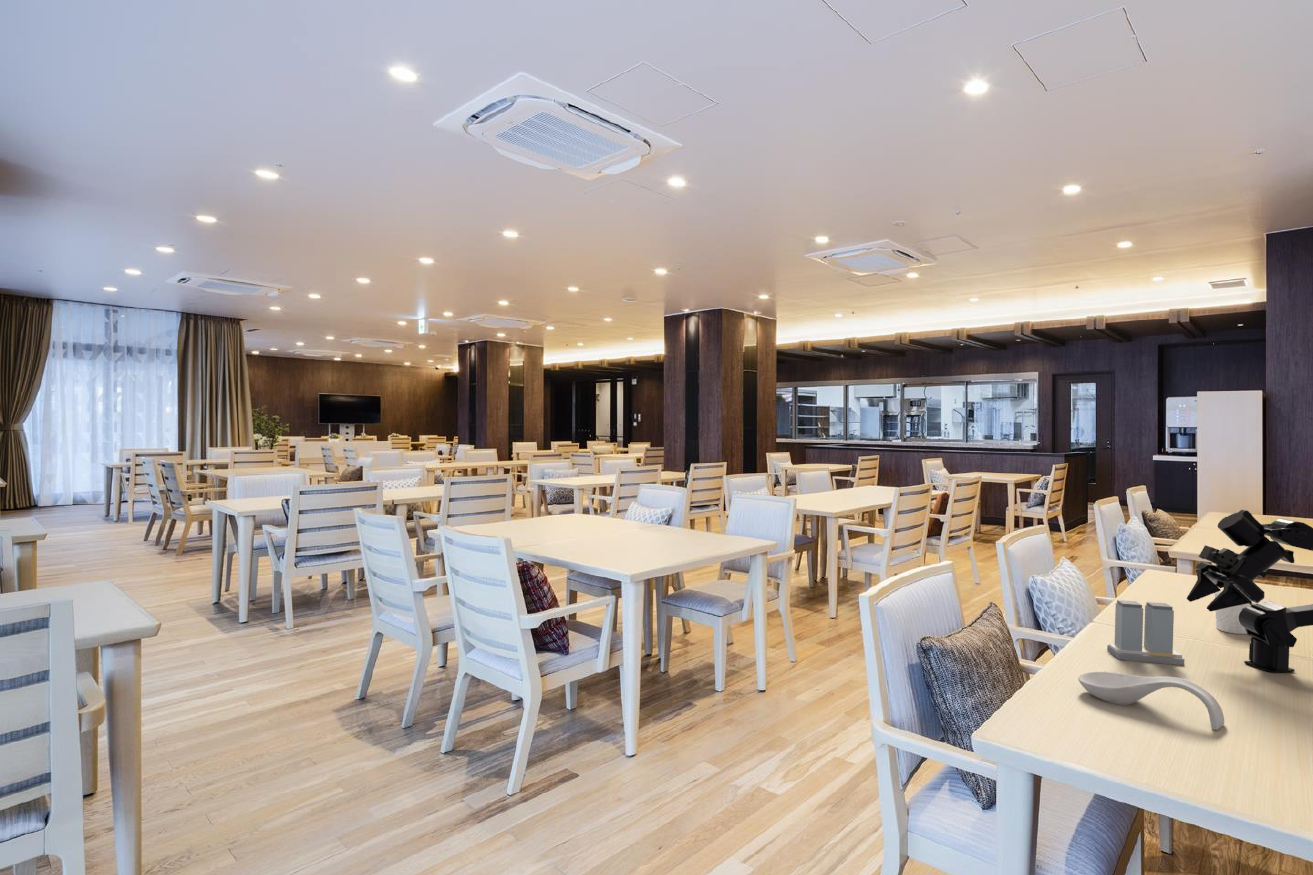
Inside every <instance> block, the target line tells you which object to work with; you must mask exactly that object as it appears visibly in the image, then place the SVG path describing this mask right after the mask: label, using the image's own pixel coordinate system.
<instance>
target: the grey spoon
mask: <svg viewBox="0 0 1313 875" xmlns="http://www.w3.org/2000/svg"><path fill="white" fill-rule="evenodd" d="M1077 680H1078V682H1079V684H1080V685H1081V686H1082V688H1084V690H1085V691H1087V692H1088V693H1089V694H1091V695H1092V696H1094V697H1096V698H1098V699H1100V700H1101V701H1104V702H1107V703H1111V704H1114V705H1115V704H1116V705H1123V706H1124V705H1126V706H1127V705H1132V704H1134V703H1136V702H1137V701H1140V700H1142V699H1144V698H1145V697H1146V696H1148V695H1150V694H1152V693H1154V692H1156V691H1158V690H1161V689H1165V688H1177V689H1181V690H1184V691H1187V692H1188V693H1190V694H1191V695H1194V696H1195V697H1196V698H1198V699H1199V700H1200V701H1201V702H1202V704H1203V705H1205V708H1206V709H1207V712H1208V715H1209V716H1208V717H1209V723H1210V728H1211V729H1212V730H1214V731H1219V729H1221V728H1222V727H1223V726H1224V725H1225V715H1224V712H1223V709H1222V707H1221V705H1220V704H1219V702H1218V701H1217V699H1216V698H1215V696H1213V695H1212V694H1211V693H1210V692H1209V691H1207V690H1206V689H1205V688H1203V687H1202V686H1200V685H1198V684H1196V683H1195V682H1192V681H1190V680H1188V679H1184V678H1181V677H1175V676H1143V675H1142V676H1140V675H1132V674H1124V673H1118V672H1109V671H1108V672H1107V671H1089V672H1085V673H1082V674H1080V675H1079V676H1078V679H1077Z"/></svg>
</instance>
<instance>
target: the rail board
mask: <svg viewBox="0 0 1313 875" xmlns="http://www.w3.org/2000/svg"><path fill="white" fill-rule="evenodd" d="M1106 646H1107V648H1106V650H1107V652H1109V653H1110V655H1112V656H1113V655H1114V656H1113V657H1114V658H1115V659H1117V660H1118V661H1131V662H1143V663H1153V664H1164V665H1166V664H1167V665H1179V666H1185V658H1184V657H1183V654H1181V653H1180V652H1178V651H1177V650H1175V649H1173V654H1167V653H1155V652H1150V651H1149V650H1147V649H1146V648H1145V647H1144V645H1142V651H1131V650H1121V649H1120V648H1118V647H1117V646H1116V645H1115V643H1109V644H1107V645H1106Z"/></svg>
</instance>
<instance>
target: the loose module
mask: <svg viewBox="0 0 1313 875" xmlns="http://www.w3.org/2000/svg"><path fill="white" fill-rule="evenodd" d="M1174 619H1175V611H1174V608H1173V606H1171V605H1170V604H1167V603H1164V602H1152V601H1151V602H1150V601H1147V602H1146V604H1145V605H1144V625H1143V628H1144V629H1143V633H1144V634H1143V635H1144V636H1143V647H1145V648H1146V649H1147V650H1149V651H1150V652H1155V653H1167V654H1173V650H1174V622H1175V621H1174Z"/></svg>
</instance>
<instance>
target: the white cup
mask: <svg viewBox="0 0 1313 875" xmlns="http://www.w3.org/2000/svg"><path fill="white" fill-rule="evenodd" d="M1222 591H1223V590H1221V591H1218V592H1216V593H1214V599H1215V598H1216V597H1217V596H1218V595H1219V594H1220V593H1221V592H1222ZM1251 602H1252V603H1253V601H1251ZM1248 606H1251V605H1250V604H1243V605H1238V606H1233V607H1228V608H1224V609H1220V610H1215V611H1214V612H1215V619H1216V620H1215V626H1216V629H1217V630H1219V631H1221V632H1224V633H1228V634H1229V633H1230V634H1235V635H1236V634H1237V635H1247V632H1246V630H1245V628H1244V627H1243V626H1242V625H1241V624H1240V622H1239V614H1240V612H1241V611H1242V609H1243V608H1245V607H1248Z"/></svg>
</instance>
